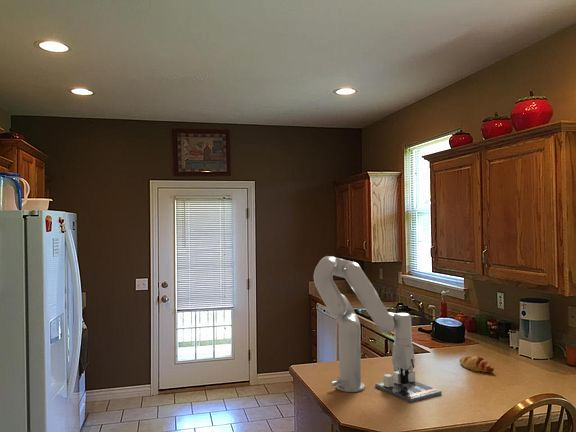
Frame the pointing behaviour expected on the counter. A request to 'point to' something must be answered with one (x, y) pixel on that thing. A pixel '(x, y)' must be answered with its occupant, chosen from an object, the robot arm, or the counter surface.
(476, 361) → the croissant
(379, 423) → the counter surface
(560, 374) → the counter surface
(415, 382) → the panel
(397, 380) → the block
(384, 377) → the block
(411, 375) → the block
